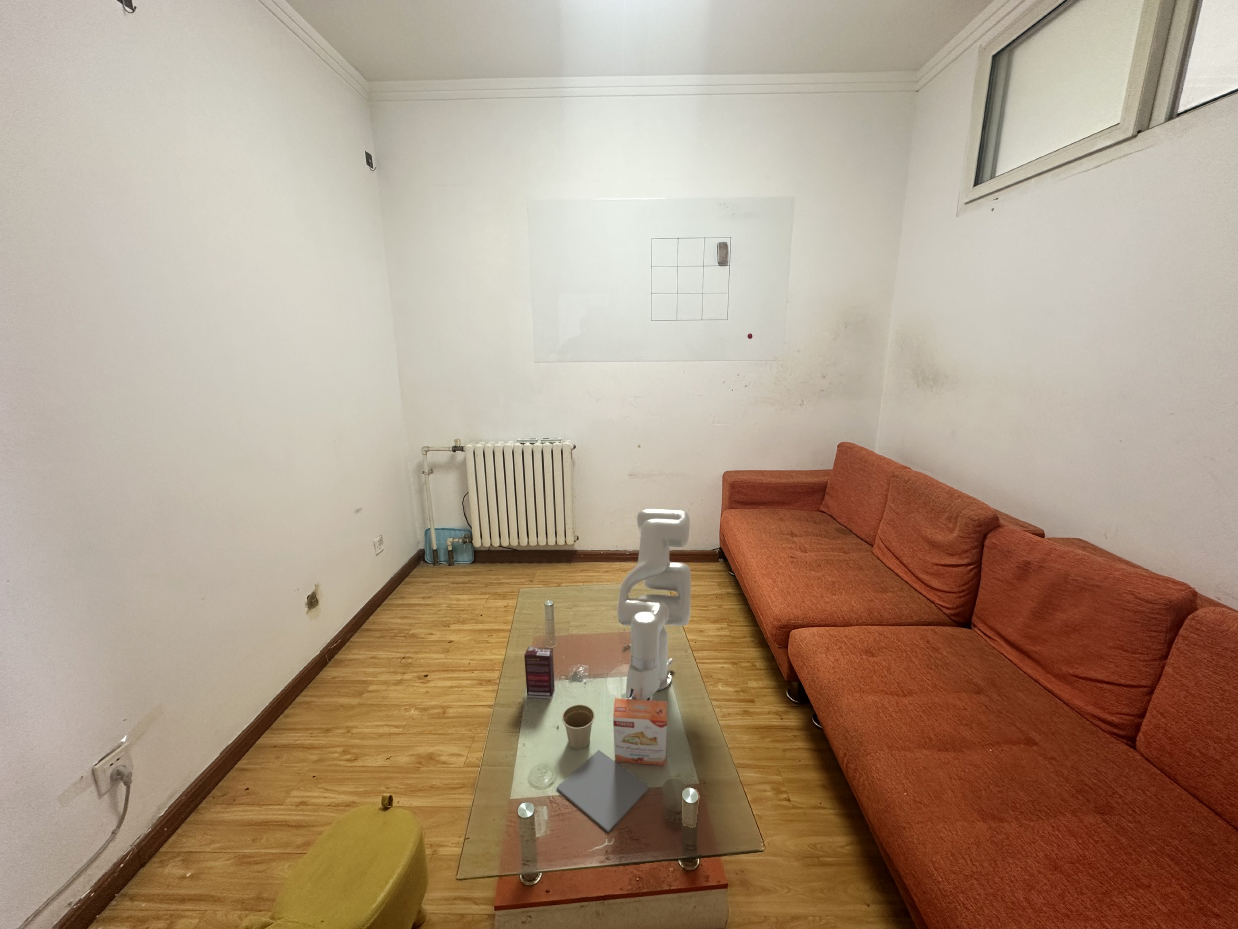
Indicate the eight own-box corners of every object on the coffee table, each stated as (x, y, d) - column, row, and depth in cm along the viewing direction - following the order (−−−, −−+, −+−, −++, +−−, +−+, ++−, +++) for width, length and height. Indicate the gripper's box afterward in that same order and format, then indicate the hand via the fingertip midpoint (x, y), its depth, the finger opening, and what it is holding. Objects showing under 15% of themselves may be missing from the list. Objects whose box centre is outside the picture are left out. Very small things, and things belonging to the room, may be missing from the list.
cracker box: (614, 763, 135) (611, 717, 124) (616, 742, 140) (614, 696, 129) (665, 767, 133) (667, 721, 123) (665, 745, 139) (667, 699, 128)
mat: (598, 751, 139) (598, 749, 138) (649, 787, 127) (649, 785, 127) (556, 789, 127) (556, 787, 127) (608, 832, 115) (608, 830, 115)
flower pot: (565, 757, 137) (564, 731, 135) (560, 732, 145) (559, 707, 143) (598, 750, 139) (597, 724, 137) (591, 726, 148) (590, 701, 146)
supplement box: (555, 689, 164) (553, 647, 160) (551, 699, 159) (550, 656, 156) (529, 687, 165) (527, 646, 161) (526, 697, 160) (523, 655, 156)
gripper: (650, 640, 139) (649, 696, 143) (615, 665, 128) (616, 725, 132) (672, 650, 134) (670, 708, 138) (638, 677, 123) (637, 739, 127)
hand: (643, 716), depth 135 cm, fingers closed
